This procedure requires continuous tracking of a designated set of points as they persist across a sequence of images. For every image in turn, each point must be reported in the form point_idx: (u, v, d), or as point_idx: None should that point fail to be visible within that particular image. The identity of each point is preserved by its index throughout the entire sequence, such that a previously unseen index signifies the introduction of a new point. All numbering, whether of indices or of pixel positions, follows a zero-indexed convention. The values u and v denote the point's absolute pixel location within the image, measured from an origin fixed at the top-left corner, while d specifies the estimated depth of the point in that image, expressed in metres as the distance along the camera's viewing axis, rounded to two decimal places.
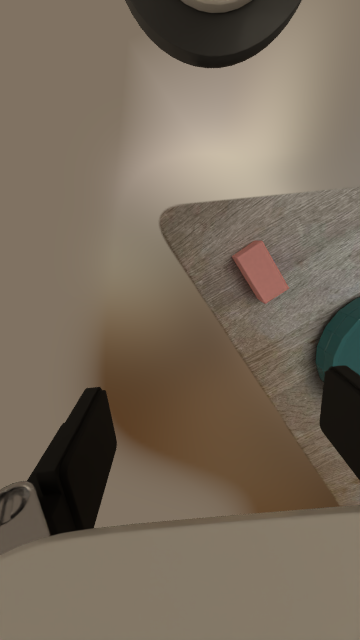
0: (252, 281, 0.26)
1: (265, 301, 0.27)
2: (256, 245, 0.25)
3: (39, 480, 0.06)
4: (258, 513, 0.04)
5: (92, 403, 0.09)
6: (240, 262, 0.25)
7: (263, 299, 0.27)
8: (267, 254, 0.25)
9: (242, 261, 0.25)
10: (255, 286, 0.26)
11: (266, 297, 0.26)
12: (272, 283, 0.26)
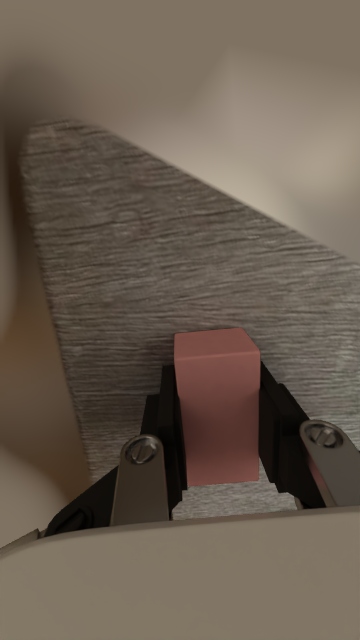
0: (185, 429, 0.09)
1: (192, 483, 0.10)
2: (240, 355, 0.08)
3: (159, 433, 0.07)
4: (258, 513, 0.04)
5: (175, 377, 0.10)
6: (178, 374, 0.09)
7: (189, 476, 0.10)
8: (254, 390, 0.09)
9: (184, 374, 0.09)
10: (186, 443, 0.10)
11: (198, 476, 0.10)
12: (230, 455, 0.10)
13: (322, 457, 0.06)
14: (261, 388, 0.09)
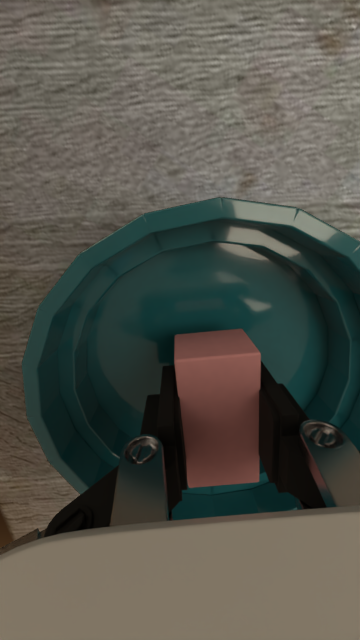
0: (185, 431, 0.09)
1: (192, 484, 0.10)
2: (240, 356, 0.08)
3: (158, 433, 0.07)
4: (258, 513, 0.04)
5: (175, 377, 0.10)
6: (178, 375, 0.09)
7: (190, 478, 0.10)
8: (254, 391, 0.09)
9: (184, 376, 0.09)
10: (186, 445, 0.10)
11: (199, 478, 0.10)
12: (230, 457, 0.10)
13: (322, 457, 0.06)
14: (261, 388, 0.09)
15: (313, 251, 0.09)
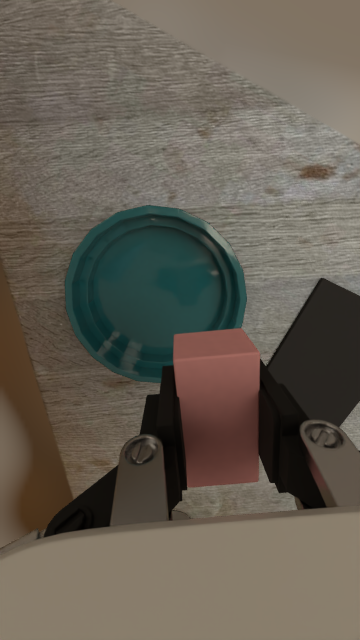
0: (184, 431, 0.09)
1: (191, 484, 0.10)
2: (239, 356, 0.08)
3: (158, 433, 0.07)
4: (258, 513, 0.04)
5: None
6: (177, 375, 0.09)
7: (189, 478, 0.10)
8: (254, 391, 0.09)
9: (184, 375, 0.09)
10: (185, 444, 0.10)
11: (198, 477, 0.10)
12: (229, 457, 0.10)
13: (322, 457, 0.06)
14: (261, 388, 0.09)
15: (198, 228, 0.20)
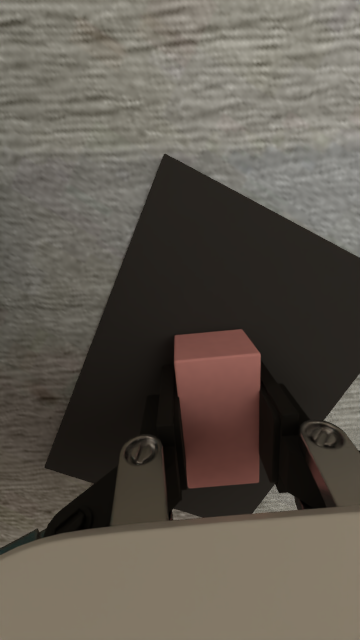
0: (185, 432, 0.09)
1: (192, 485, 0.10)
2: (240, 357, 0.08)
3: (158, 433, 0.07)
4: (258, 513, 0.04)
5: (174, 377, 0.10)
6: (178, 376, 0.09)
7: (189, 479, 0.10)
8: (254, 392, 0.09)
9: (184, 377, 0.09)
10: (186, 445, 0.10)
11: (198, 478, 0.10)
12: (229, 457, 0.10)
13: (322, 457, 0.06)
14: (261, 388, 0.09)
15: None
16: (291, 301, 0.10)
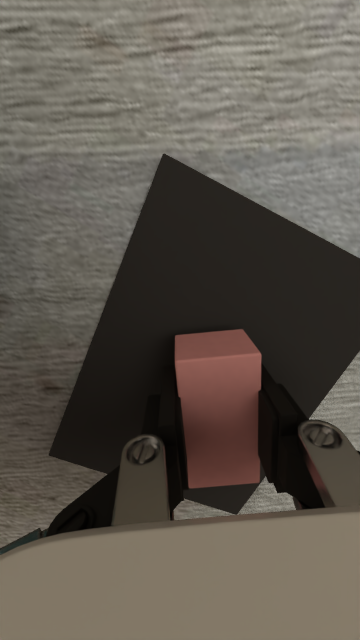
0: (185, 432, 0.09)
1: (192, 485, 0.10)
2: (241, 357, 0.08)
3: (160, 433, 0.07)
4: (258, 513, 0.04)
5: None
6: (178, 376, 0.09)
7: (190, 479, 0.10)
8: (255, 392, 0.09)
9: (185, 376, 0.09)
10: (186, 445, 0.10)
11: (199, 478, 0.10)
12: (230, 458, 0.10)
13: (321, 457, 0.06)
14: None
15: None
16: (284, 294, 0.11)
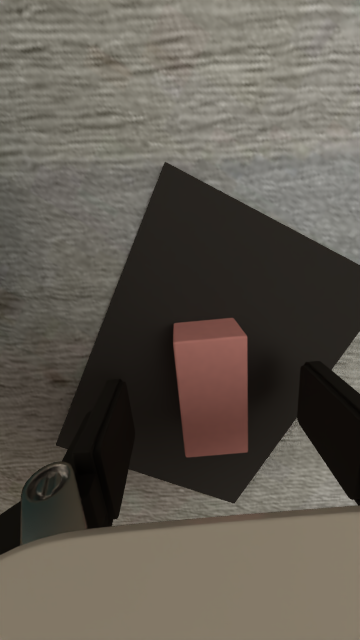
0: (182, 405, 0.11)
1: (189, 454, 0.12)
2: (230, 339, 0.10)
3: (75, 460, 0.07)
4: (258, 513, 0.04)
5: (115, 393, 0.09)
6: (176, 355, 0.10)
7: (187, 448, 0.11)
8: (242, 370, 0.10)
9: (182, 356, 0.10)
10: (183, 418, 0.11)
11: (194, 448, 0.11)
12: (221, 429, 0.11)
13: None
14: (337, 395, 0.08)
15: None
16: (278, 292, 0.12)
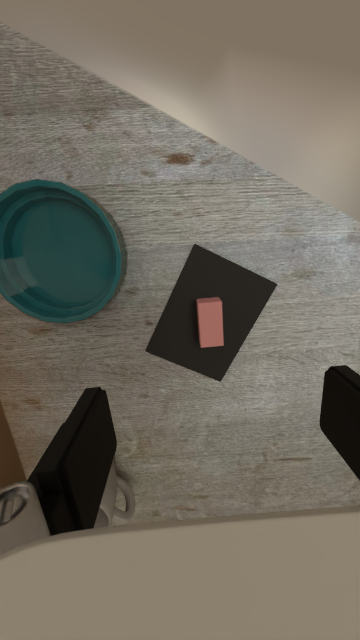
0: (200, 326, 0.31)
1: (202, 346, 0.32)
2: (216, 302, 0.30)
3: (39, 480, 0.06)
4: (258, 513, 0.04)
5: (92, 403, 0.09)
6: (198, 308, 0.30)
7: (201, 343, 0.32)
8: (220, 313, 0.30)
9: (200, 308, 0.30)
10: (200, 331, 0.31)
11: (204, 343, 0.32)
12: (214, 335, 0.31)
13: None
14: None
15: (83, 199, 0.27)
16: (234, 287, 0.32)
